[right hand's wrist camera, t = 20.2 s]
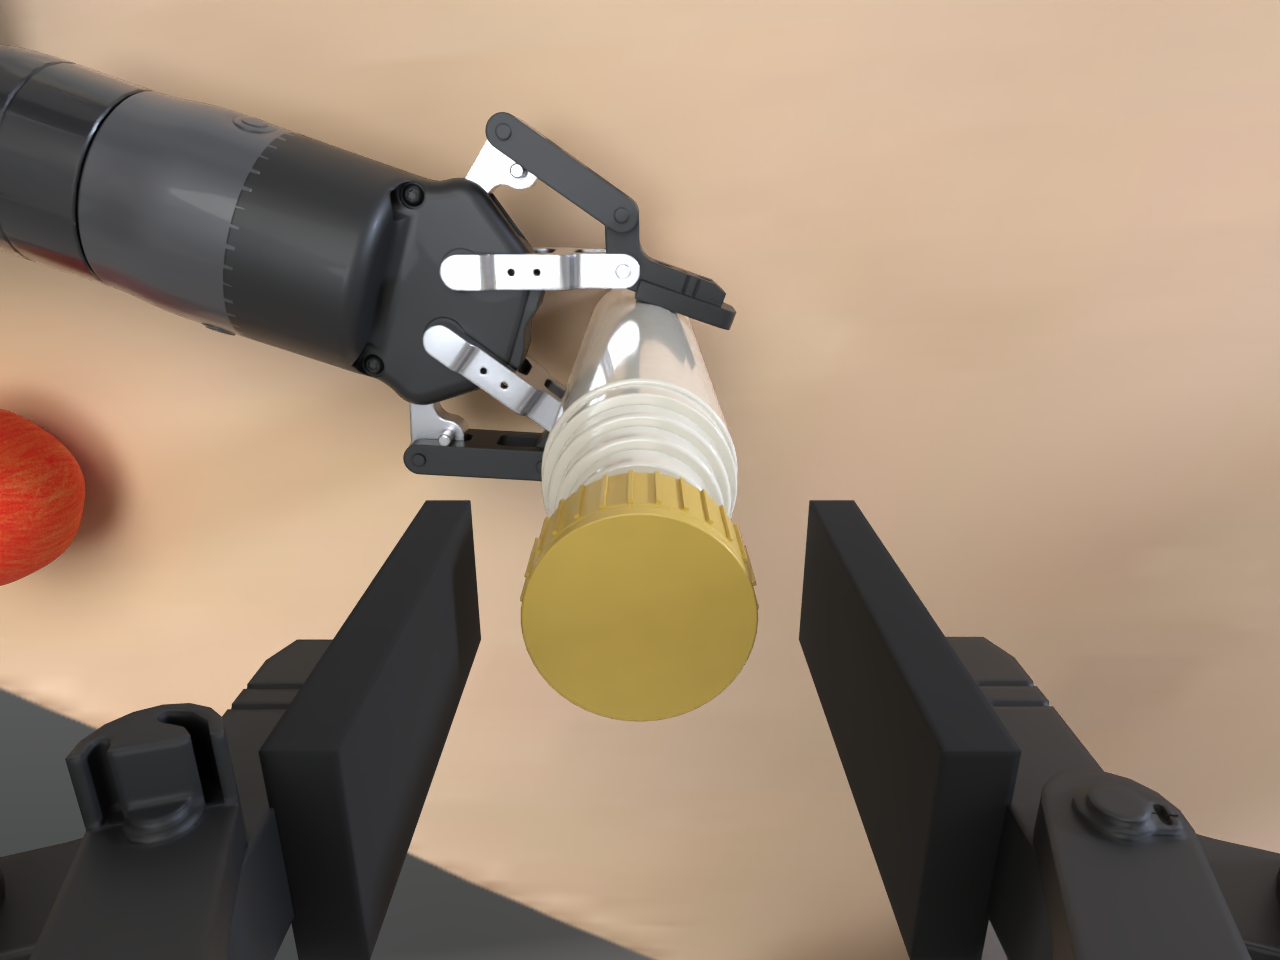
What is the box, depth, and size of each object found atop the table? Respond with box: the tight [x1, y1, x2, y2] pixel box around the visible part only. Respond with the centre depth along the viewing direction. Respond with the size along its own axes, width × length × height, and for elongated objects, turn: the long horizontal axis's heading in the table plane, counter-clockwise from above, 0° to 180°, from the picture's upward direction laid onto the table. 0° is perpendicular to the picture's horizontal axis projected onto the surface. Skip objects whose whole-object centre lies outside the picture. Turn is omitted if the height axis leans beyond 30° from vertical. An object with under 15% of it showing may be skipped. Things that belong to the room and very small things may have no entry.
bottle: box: [541, 289, 738, 519], centre depth 25 cm, size 5×5×25 cm
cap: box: [520, 470, 758, 721], centre depth 14 cm, size 4×4×2 cm
